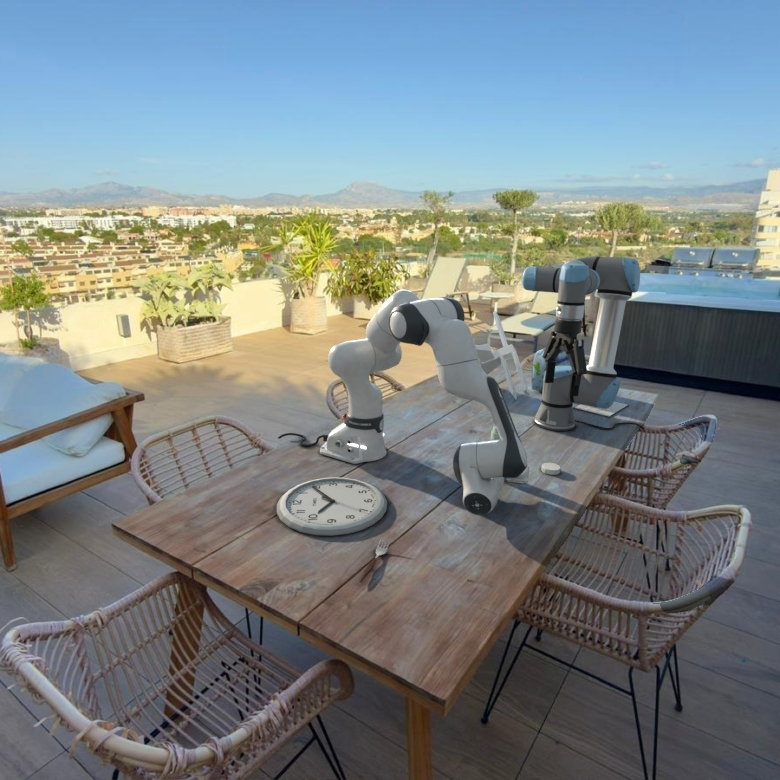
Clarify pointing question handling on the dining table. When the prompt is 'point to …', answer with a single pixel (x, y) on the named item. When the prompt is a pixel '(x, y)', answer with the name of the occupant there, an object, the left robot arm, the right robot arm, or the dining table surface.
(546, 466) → the lid
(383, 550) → the fork
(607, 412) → the invitation card
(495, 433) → the jar
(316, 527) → the wall clock
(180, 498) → the dining table surface
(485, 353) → the white plastic object
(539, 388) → the lunch box
